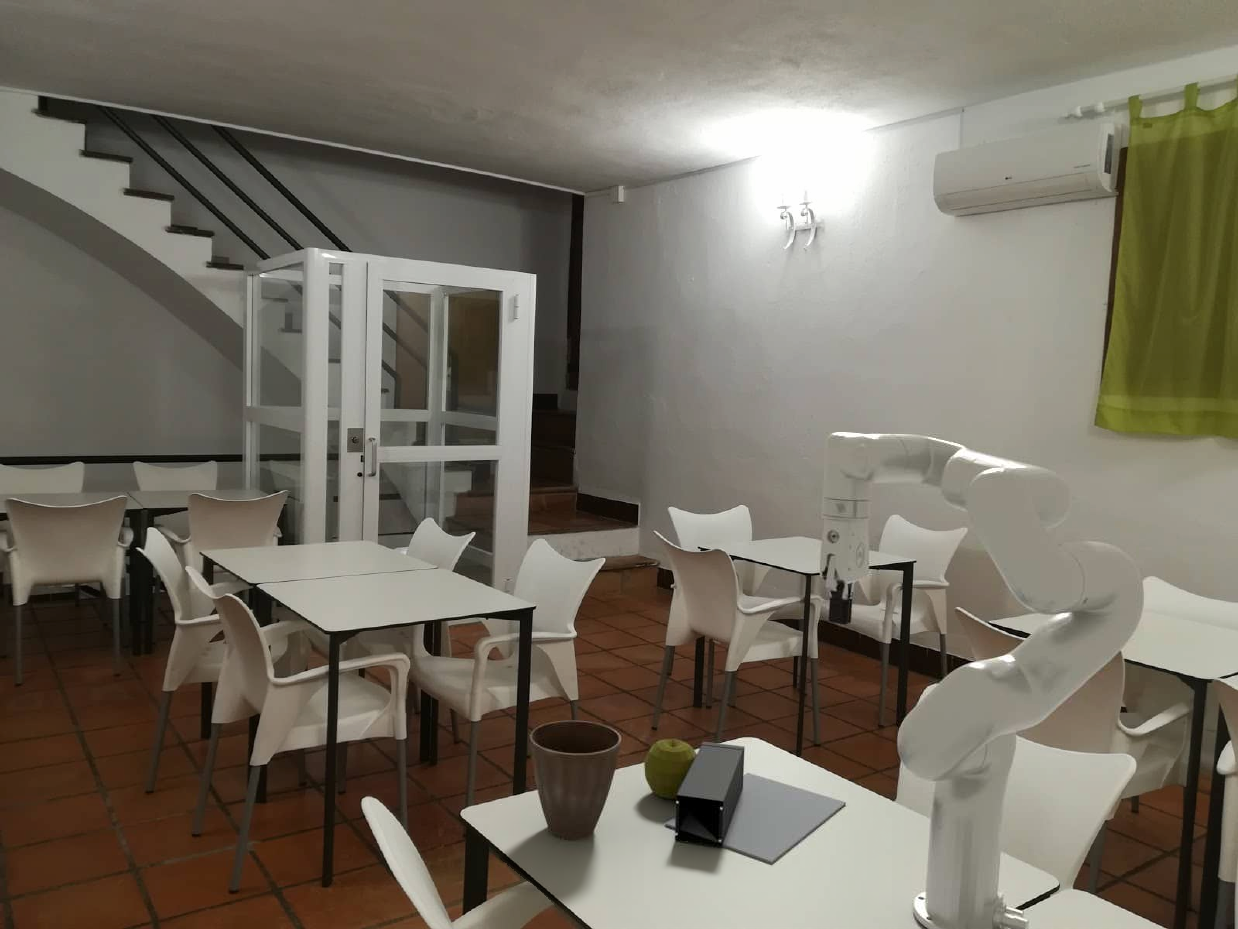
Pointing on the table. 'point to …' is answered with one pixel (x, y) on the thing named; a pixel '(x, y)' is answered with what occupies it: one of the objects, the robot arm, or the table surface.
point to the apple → (668, 766)
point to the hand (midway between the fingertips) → (839, 622)
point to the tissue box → (711, 791)
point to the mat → (769, 818)
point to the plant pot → (573, 774)
